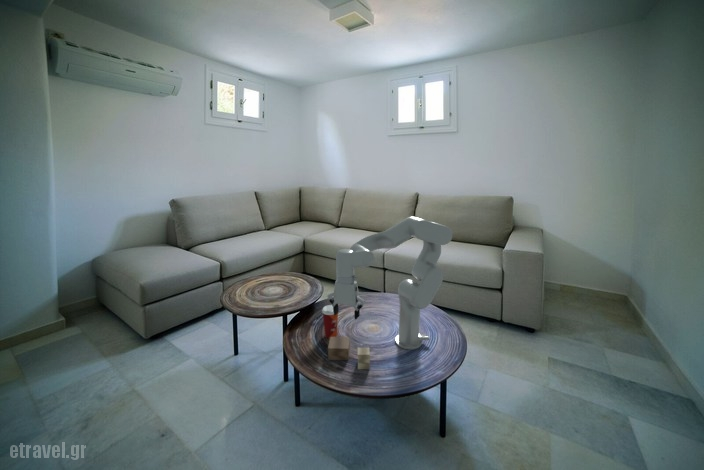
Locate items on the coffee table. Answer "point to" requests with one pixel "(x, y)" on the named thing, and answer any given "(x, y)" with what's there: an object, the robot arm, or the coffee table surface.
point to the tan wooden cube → (338, 348)
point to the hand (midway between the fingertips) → (346, 315)
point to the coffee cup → (330, 321)
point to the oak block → (363, 358)
